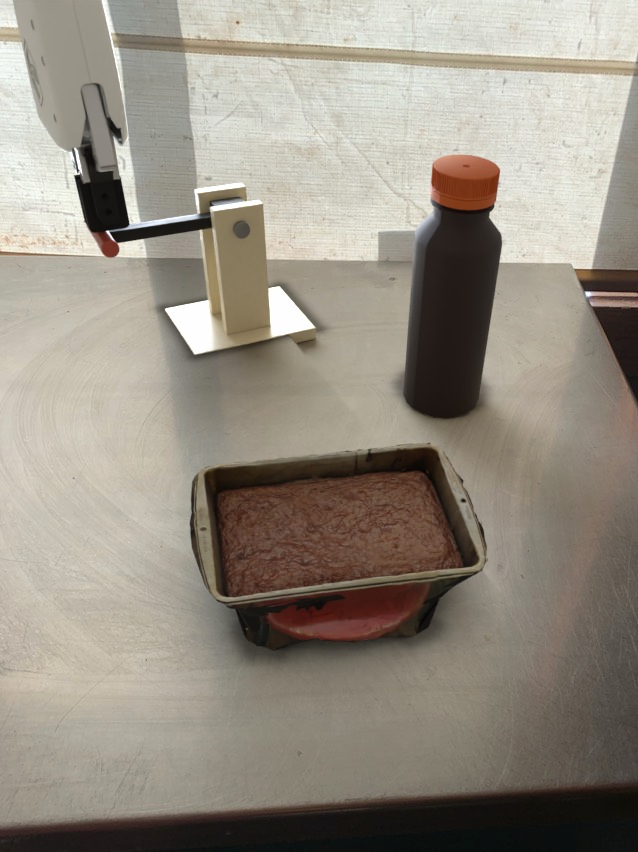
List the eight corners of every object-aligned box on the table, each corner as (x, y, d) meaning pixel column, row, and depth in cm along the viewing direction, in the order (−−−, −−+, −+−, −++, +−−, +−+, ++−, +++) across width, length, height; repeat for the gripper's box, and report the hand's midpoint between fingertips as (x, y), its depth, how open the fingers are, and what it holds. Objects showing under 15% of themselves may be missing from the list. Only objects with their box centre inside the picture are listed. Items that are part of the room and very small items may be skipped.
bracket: (196, 366, 72) (176, 227, 63) (166, 319, 77) (143, 186, 68) (316, 338, 77) (313, 206, 68) (280, 296, 82) (273, 168, 73)
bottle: (457, 371, 74) (486, 146, 60) (491, 412, 70) (530, 179, 56) (391, 384, 72) (404, 153, 58) (421, 427, 68) (444, 189, 53)
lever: (104, 265, 64) (98, 236, 62) (89, 239, 67) (82, 211, 65) (257, 239, 69) (255, 212, 67) (236, 217, 72) (234, 190, 70)
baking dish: (464, 680, 52) (507, 567, 46) (182, 680, 47) (187, 555, 41) (423, 537, 62) (453, 431, 56) (190, 526, 58) (195, 409, 52)
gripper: (-31, -70, 55) (40, 199, 68) (9, -26, 46) (83, 274, 59) (80, -71, 57) (128, 186, 70) (139, -30, 48) (182, 256, 61)
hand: (107, 226), depth 64 cm, fingers closed
